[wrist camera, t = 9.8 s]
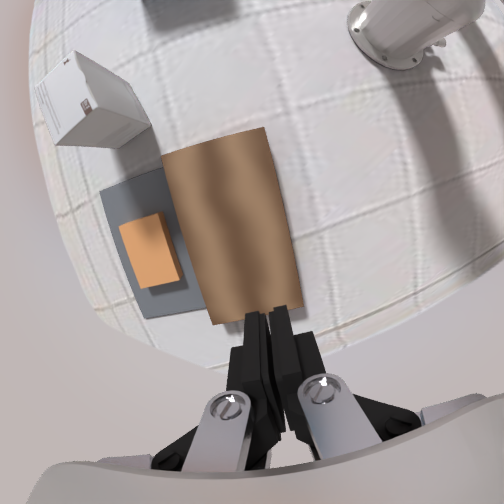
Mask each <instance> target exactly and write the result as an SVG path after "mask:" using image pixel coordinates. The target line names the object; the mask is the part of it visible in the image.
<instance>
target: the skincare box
mask: <svg viewBox="0 0 504 504" xmlns="http://www.w3.org/2000/svg"><path fill="white" fill-rule="evenodd" d="M34 89H35V93H36V96H37V99H38V102H39V105H40V108H41V111H42V114H43V116H44V119H45V122H46V125H47V127H48V130H49V132H50V135H51V137H52V140H53V142H54V145H55V146H57V145H59V146H84V147H101V148H114V149H119V148H120V147H121V146H123V145H124V144H126V143H127V142H128V141H130V140H131V139H133V138H134V137H135V136H137V135H138V134H140V133H141V132H143V131H144V130H145V129H147V128H149V127H150V126H151V123H150V121H149V119H148V117H147V116H146V114H145V112H144V110H143V108H142V106H141V104H140V102H139V100H138V99H137V97H136V95H135V93H134V92H133V90H132V88H131V86H130V84H129V83H128V82H127V81H125V80H123V79H122V78H120V77H119V76H117V75H115V74H114V73H112V72H111V71H109V70H108V69H106V68H104V67H103V66H101V65H99V64H98V63H96V62H94V61H93V60H91V59H89V58H87V57H86V56H84V55H82V54H80V53H79V52H77V51H75V50H72V51H71V52H70V53H69V54H68V55H67V56H66V57H65V58H64V59H63V60H62V61H60V62H59V63H58V64H57V65H56V66H55V67H54V68H53V69H52V70H51V71H50V72H49V73H48V74H47V75H46V76H45V77H44V78H43V79H42V80H41V81H40V82H39V83H38V84H37V85H36V86H35V88H34Z"/></svg>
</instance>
